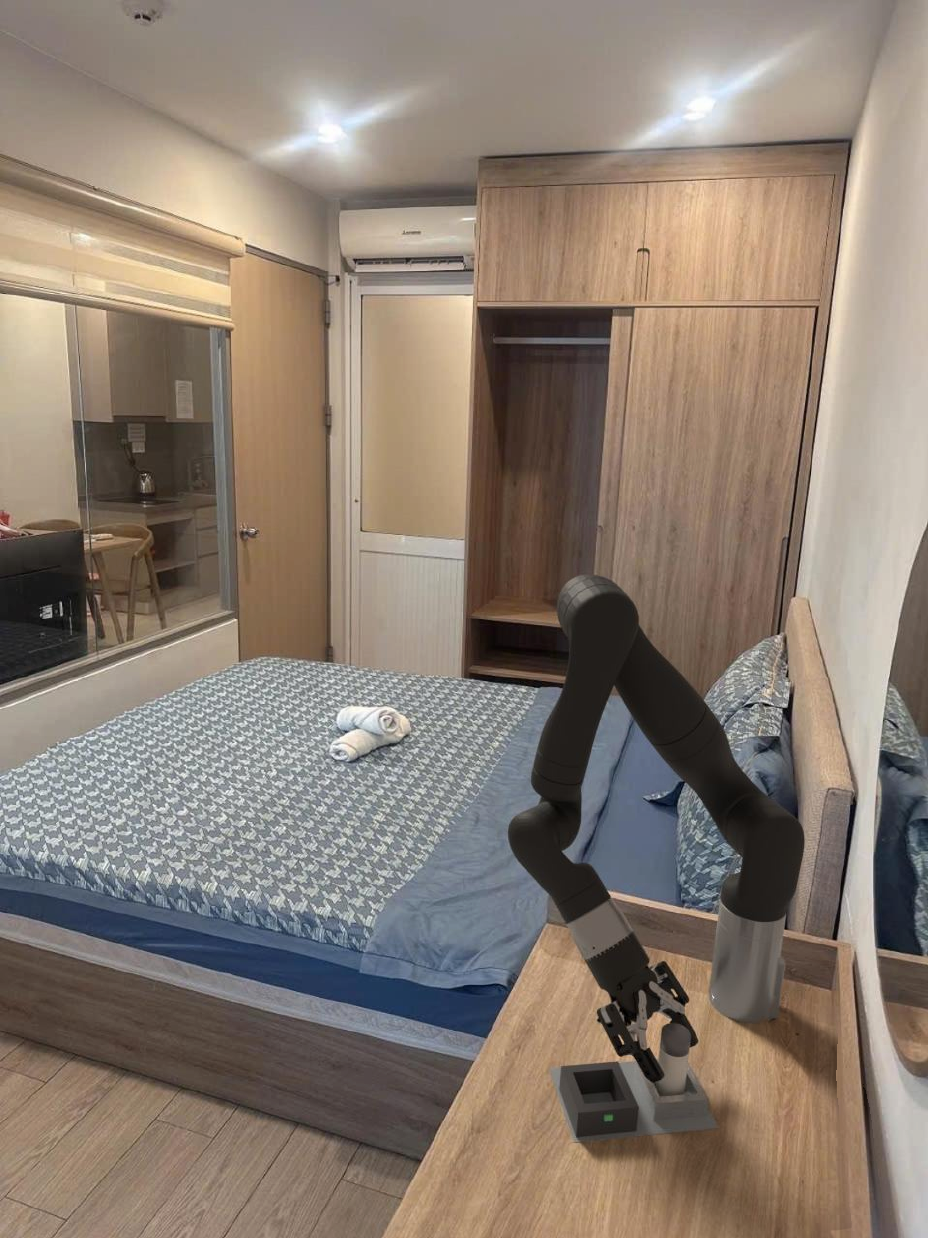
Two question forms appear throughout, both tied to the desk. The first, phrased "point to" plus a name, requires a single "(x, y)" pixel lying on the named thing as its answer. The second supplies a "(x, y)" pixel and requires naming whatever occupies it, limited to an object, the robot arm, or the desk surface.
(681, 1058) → the plug
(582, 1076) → the port
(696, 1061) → the desk surface
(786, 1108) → the desk surface
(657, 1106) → the square frame
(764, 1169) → the desk surface
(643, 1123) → the panel
